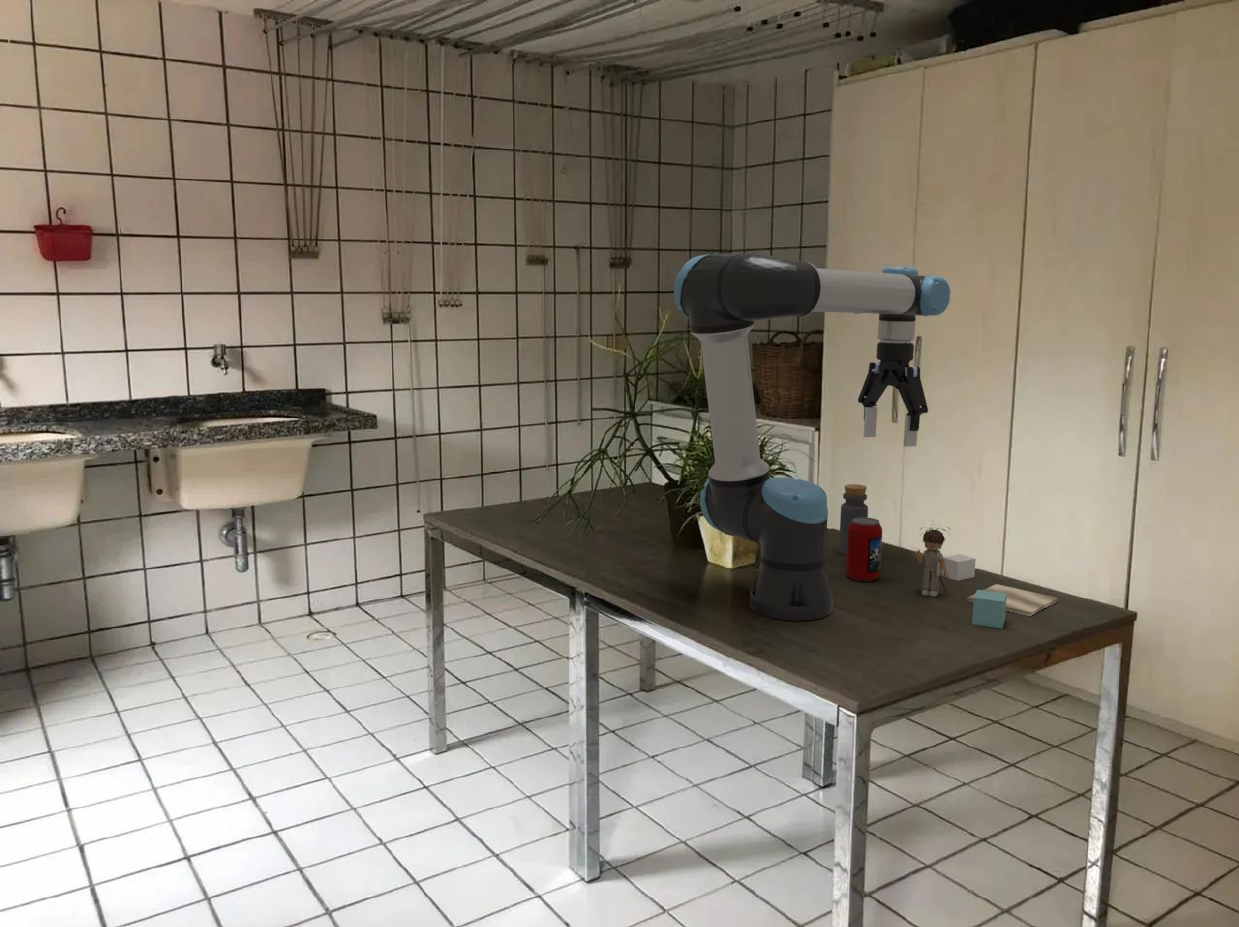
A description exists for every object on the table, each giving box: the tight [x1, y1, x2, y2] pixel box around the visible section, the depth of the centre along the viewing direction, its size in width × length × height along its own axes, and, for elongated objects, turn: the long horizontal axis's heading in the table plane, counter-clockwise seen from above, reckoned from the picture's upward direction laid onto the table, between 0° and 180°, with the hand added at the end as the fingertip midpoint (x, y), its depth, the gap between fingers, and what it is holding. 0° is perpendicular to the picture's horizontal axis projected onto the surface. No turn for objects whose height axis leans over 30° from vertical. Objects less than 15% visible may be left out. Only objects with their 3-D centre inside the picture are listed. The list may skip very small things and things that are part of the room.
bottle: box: [838, 483, 869, 556], centre depth 221 cm, size 6×6×15 cm
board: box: [966, 583, 1059, 617], centre depth 188 cm, size 12×12×1 cm
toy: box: [914, 520, 952, 597], centre depth 191 cm, size 6×6×15 cm
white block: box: [941, 553, 977, 581], centre depth 204 cm, size 5×4×4 cm
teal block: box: [971, 589, 1007, 630], centre depth 177 cm, size 5×5×5 cm
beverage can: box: [845, 517, 883, 582], centre depth 202 cm, size 7×7×12 cm
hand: (889, 441), depth 214 cm, fingers open, 13 cm apart
